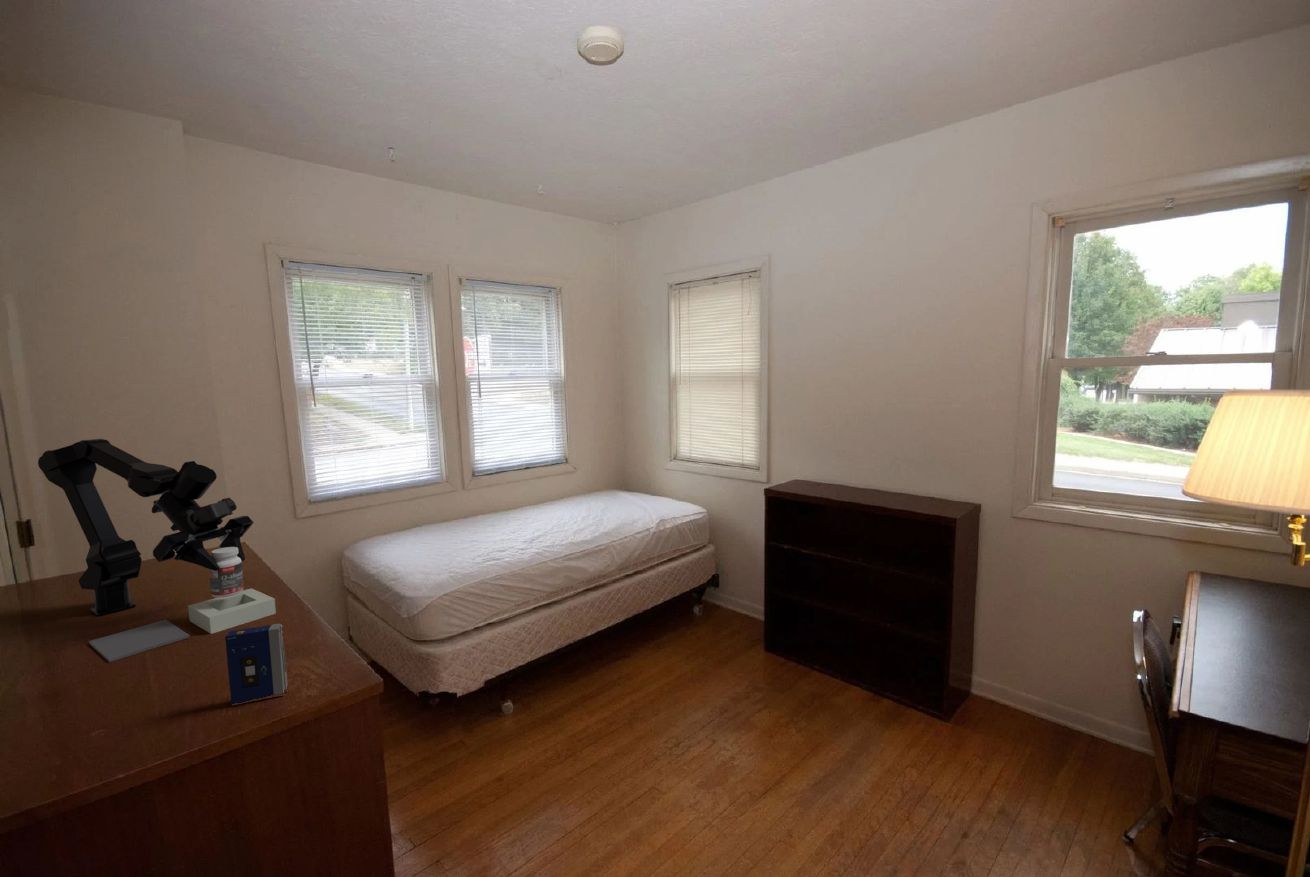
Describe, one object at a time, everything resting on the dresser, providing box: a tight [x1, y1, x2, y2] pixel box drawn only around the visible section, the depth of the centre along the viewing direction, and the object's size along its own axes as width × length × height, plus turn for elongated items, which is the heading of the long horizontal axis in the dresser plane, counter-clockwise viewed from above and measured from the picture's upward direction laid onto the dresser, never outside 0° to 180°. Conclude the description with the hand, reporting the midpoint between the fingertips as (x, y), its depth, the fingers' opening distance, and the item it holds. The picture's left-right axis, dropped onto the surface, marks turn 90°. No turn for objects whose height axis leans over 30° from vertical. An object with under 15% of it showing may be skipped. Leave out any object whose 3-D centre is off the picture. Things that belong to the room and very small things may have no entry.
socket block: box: [187, 588, 277, 635], centre depth 122 cm, size 12×12×4 cm
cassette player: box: [224, 622, 289, 705], centre depth 90 cm, size 7×2×12 cm, turn 114°
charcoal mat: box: [88, 619, 190, 663], centre depth 111 cm, size 14×12×1 cm
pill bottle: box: [208, 547, 244, 598], centre depth 121 cm, size 6×6×10 cm
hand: (230, 564), depth 120 cm, fingers closed on pill bottle, 6 cm apart
